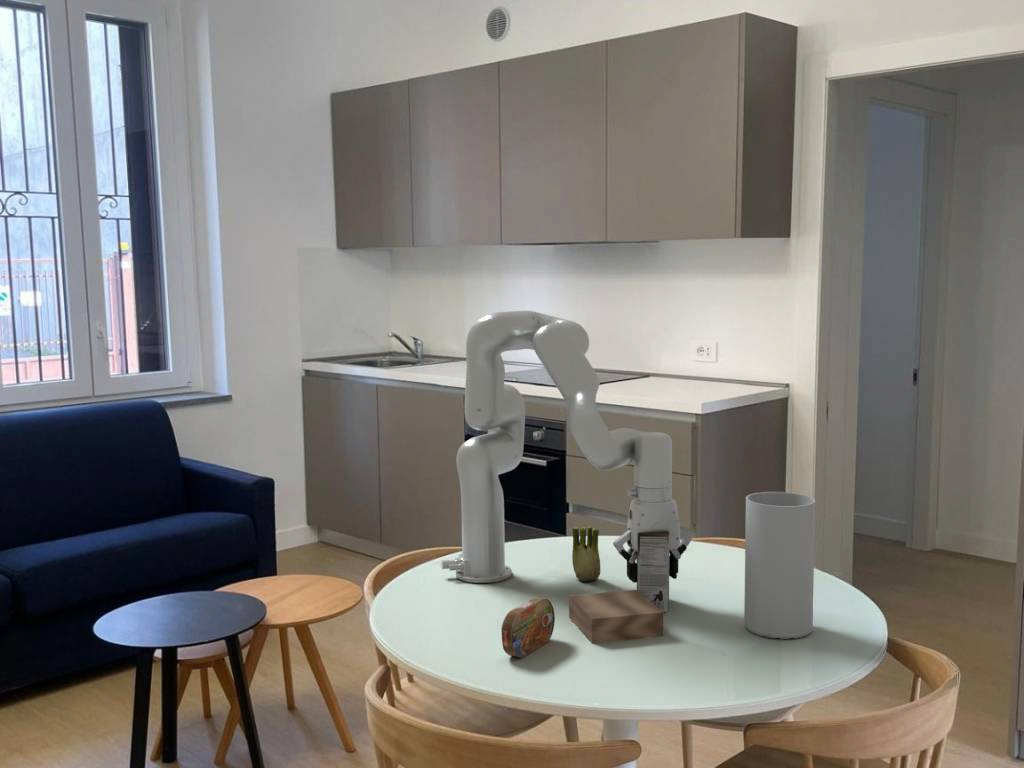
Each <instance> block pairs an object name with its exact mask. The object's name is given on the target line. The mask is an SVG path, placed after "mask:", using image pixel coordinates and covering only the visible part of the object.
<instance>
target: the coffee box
mask: <svg viewBox="0 0 1024 768" xmlns="http://www.w3.org/2000/svg"><path fill="white" fill-rule="evenodd" d="M669 536H670V534H669V531H655V532H654V531H652V532H642V533H638V557H637V559H636V563H637V565H638V568H637V569H638V575H637V582H636V590H637V591H639V592H640V593H641V594H642V595H643V596H645V597H646V598H647V599H648V600H649V601H651V602H652V603H653V604H654V605H656V606H657V607H658V608H659V609H660V610H662V611H663V612H664V613H669V612H670V611H669V610H670V576H669V556H670V553H669Z"/></svg>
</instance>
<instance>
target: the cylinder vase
mask: <svg viewBox="0 0 1024 768" xmlns="http://www.w3.org/2000/svg"><path fill="white" fill-rule="evenodd" d="M815 526H816V499H815V498H814V497H812V496H809V495H806V494H802V493H801V494H800V493H795V492H788V491H787V492H785V491H764V492H755V493H749V494H748V495H746V496H745V532H744V533H745V536H744V537H745V539H744V540H745V543H744V601H743V602H744V603H743V604H744V606H743V607H744V608H743V609H744V612H743V614H744V617H743V623H744V626H745V628H746V629H747V630H748V631H750V632H751V633H752V634H754V633H755V634H754V635H757V636H760V637H763V636H765V637H764V638H768V637H770V638H769V639H774V638H780V639H779V640H791V639H790V638H795V639H799V638H798V637H800V638H803V636H804V637H806V636H808V635H809V634H810V633H811V632H812V630H813V624H814V623H813V621H814V582H815V581H814V579H815V577H814V575H815V573H814V572H815V570H814V569H815V534H816V533H815V529H816V527H815ZM788 638H789V639H788Z"/></svg>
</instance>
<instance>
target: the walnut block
mask: <svg viewBox="0 0 1024 768" xmlns="http://www.w3.org/2000/svg"><path fill="white" fill-rule="evenodd" d="M664 613H665V612H663V611H662V610H660V609H659V608H658V607H657V606H656V605H654V604H653V603H652V602H651V601H649V600H648V599H647V598H646V597H645V596H643V595H642V594H641V593H640V592H639V591H637V589H629V590H620V591H619V590H618V591H609V592H608V591H606V592H595V593H586V594H576V595H575V594H573V595H568V615H569V616H568V619H569V618H570V619H571V620H570V619H569V620H570V622H571V623H572V624H573V623H574V624H575V625H576V626H577V627H578V628H577V627H576V626H575V625H574V624H573V625H574V626H575V627H576V628H577V629H578V630H579V632H581V633H582V635H583V636H584V635H585V636H584V637H585V638H586V639H587V640H588V641H589V642H590V643H591V644H593V645H594V644H600V643H610V642H620V641H621V642H622V641H630V640H640V639H648V638H657V637H658V638H659V637H664V626H665V624H664V620H665V618H664Z"/></svg>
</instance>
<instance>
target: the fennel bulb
mask: <svg viewBox="0 0 1024 768" xmlns="http://www.w3.org/2000/svg"><path fill="white" fill-rule="evenodd" d="M599 531H600V530H599V529H598V528H595V527H592V526H587V527H584V526H583V527H580V529H579V527H578V526H574V527H573V528H572V555H571V556H572V566H573V567H572V568H573V571H574V574H575V577H576V578H577V579H578V580H580V581H581V582H585V583H587V582H589V583H590V582H594V581H596V580H597V579H599V577H600V575H601V559H600V553H599Z"/></svg>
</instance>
